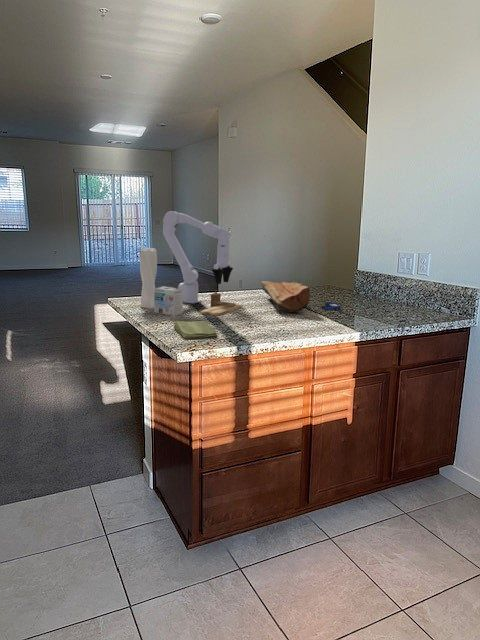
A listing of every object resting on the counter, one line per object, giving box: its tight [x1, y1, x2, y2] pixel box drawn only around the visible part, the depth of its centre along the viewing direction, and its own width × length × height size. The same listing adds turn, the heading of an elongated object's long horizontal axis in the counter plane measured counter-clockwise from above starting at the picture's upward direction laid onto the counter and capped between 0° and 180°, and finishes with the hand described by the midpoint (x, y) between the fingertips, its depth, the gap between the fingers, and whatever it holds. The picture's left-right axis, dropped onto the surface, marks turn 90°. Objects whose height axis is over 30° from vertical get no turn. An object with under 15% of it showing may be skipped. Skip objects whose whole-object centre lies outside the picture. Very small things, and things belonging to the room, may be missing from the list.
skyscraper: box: [139, 244, 158, 309], centre depth 210 cm, size 8×8×28 cm
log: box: [260, 280, 311, 313], centre depth 226 cm, size 42×18×15 cm, turn 4°
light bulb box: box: [153, 286, 184, 317], centre depth 200 cm, size 11×7×11 cm, turn 62°
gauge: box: [210, 291, 236, 308], centre depth 217 cm, size 12×4×7 cm, turn 65°
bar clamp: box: [321, 301, 355, 318], centre depth 217 cm, size 32×2×10 cm
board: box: [200, 303, 243, 317], centre depth 211 cm, size 9×23×1 cm, turn 155°
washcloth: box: [173, 320, 218, 340], centre depth 170 cm, size 13×18×3 cm
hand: (222, 282), depth 226 cm, fingers open, 7 cm apart
